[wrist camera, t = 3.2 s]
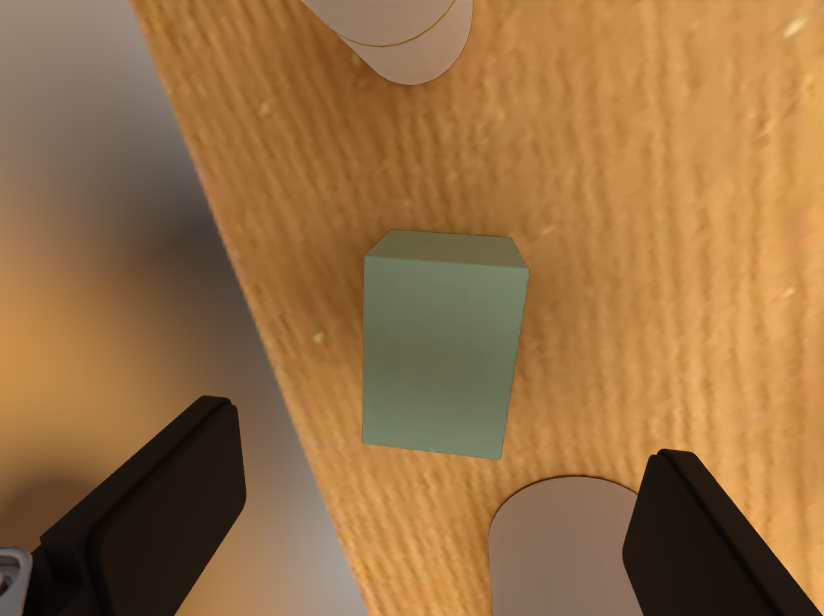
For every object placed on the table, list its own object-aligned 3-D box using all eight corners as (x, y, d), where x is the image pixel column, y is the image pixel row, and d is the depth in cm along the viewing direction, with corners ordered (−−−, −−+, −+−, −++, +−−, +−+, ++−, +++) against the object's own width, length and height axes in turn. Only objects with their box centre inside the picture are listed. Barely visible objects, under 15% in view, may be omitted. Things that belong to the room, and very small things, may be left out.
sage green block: (492, 387, 19) (500, 461, 14) (386, 376, 20) (361, 444, 15) (512, 237, 17) (530, 268, 12) (390, 228, 17) (363, 255, 13)
